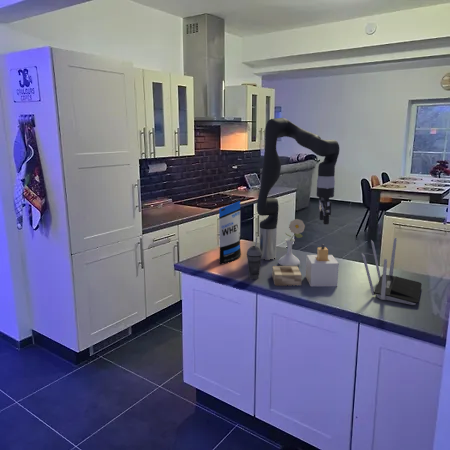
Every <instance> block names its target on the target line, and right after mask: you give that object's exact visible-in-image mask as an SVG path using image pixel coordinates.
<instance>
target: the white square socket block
mask: <svg viewBox="0 0 450 450" xmlns="http://www.w3.org/2000/svg"><path fill="white" fill-rule="evenodd" d="M305 261H306V264H305V278H306V280H307V282H308V284H309V286H310V287H338V282H339V281H338V279H339V267H340V266H339V265H340V263H339V261H338V260H337V259H336V258H335V257H334V256H333V254H328V261H317V254H306V260H305Z"/></svg>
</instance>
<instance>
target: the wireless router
mask: <svg viewBox="0 0 450 450" xmlns="http://www.w3.org/2000/svg"><path fill="white" fill-rule="evenodd" d="M397 240H398V239H397V237H394V238H393V243H392V244H393V245H392V251H391V258H390V264H389V265H390V266H389V270H388V271H389V272H388V274H387V269H388V268H387V267H388V259H387V258H384V260H383V265H382V266H383V267H382V274H381V272H380V266H379V261H378V257H377V251H376V247H375V243H374V241H373V240H372V239H370V243H371V247H372V252H373V253H372V254H373V258H374V261H375V267H376V272H377V278H378V281H377V282H378V283H377V285H376V287H375V289H374V286H373V282H372V278H371V275H370V274H371V273H370V270H369V266H368V261H367V259H366V255H365V254H364V253H363V252H361V256H362V259H363V263H364V267H365V268H364V269H365V272H366V275H367V279H368V284H369V288H370V291H371V295H372V296H377V299H379V300H385V301H389V302H390V301H391V302H396V303H401V304H406V305H411V306H415V305H417V304H418V303H419V302H420V296H421V290H422V282H420V281H416V280H413V279H412V280H411V279H408V278H405V277H404V278H403V277H399V276H395V275H394V267H395V258H396V249H397V248H396V247H397Z"/></svg>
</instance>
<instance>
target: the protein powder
mask: <svg viewBox="0 0 450 450" xmlns="http://www.w3.org/2000/svg"><path fill="white" fill-rule="evenodd" d="M218 211H219V212H218V216H219V219H218V220H219V226H218V227H219V229H218V230H219V259H218V260H219V261H220V262H219V265H223V264H222V263H224V264H229V263H233V262H236V261H237V260H239V259H241V256H242V251H241V200H239V201H236V202H233V203H231V204H228V205H225V206H222V207H220V208H219V209H218ZM232 261H233V262H232ZM228 262H229V263H228Z"/></svg>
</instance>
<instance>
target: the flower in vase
mask: <svg viewBox="0 0 450 450" xmlns="http://www.w3.org/2000/svg"><path fill="white" fill-rule="evenodd" d="M305 228H306V225H305V223H304V221H303V220H302V219H300V218H299V219H298V218H295V219H293V220H291V221H290V222H289V224H288V229H289V230H290V232H291V233H292V234H293V235H289V234H287V233H286V232H285V233H284V234H285V235H286V236H288V237H289V238H285V239H284V241H285V242H286V246H287V251H286V253H285V254H284V255H283V256H281V257H280V258H279V259H278V261H277V262H278V265H279V266H298V267H299V266H300V264H301V261H300V260H299V258H298V257H297V256H295V255H294V254H293V251H292V250H293V244H294V242H295V241H296V240H295V239H294V237H296V238H297V239H300V238H303V237H304V236H303V234H301V233H303V232H304V230H305ZM290 237H291V238H290Z"/></svg>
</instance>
